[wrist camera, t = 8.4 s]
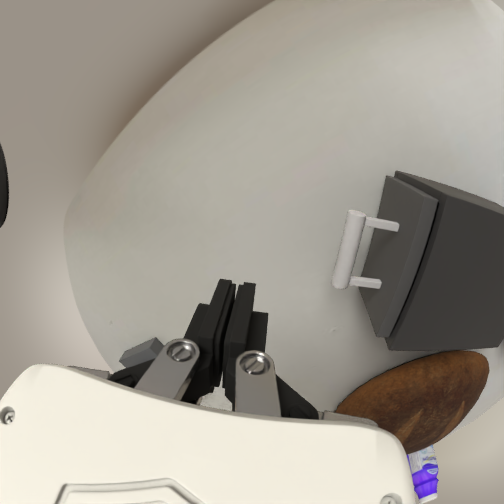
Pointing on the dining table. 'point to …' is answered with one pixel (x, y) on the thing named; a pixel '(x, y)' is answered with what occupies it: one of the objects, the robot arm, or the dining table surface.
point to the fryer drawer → (387, 251)
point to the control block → (141, 353)
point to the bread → (421, 397)
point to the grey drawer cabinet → (456, 276)
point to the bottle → (424, 473)
